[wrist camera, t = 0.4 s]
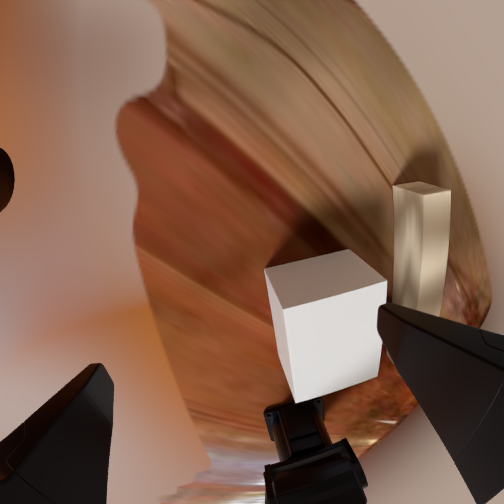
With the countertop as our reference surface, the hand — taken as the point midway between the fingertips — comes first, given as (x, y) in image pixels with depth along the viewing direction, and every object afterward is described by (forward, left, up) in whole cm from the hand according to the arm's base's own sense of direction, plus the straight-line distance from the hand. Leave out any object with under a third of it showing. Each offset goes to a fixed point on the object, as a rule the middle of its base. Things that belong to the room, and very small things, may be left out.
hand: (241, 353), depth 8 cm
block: (-8, -6, -13) cm, 17 cm away
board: (-8, -15, -13) cm, 22 cm away
